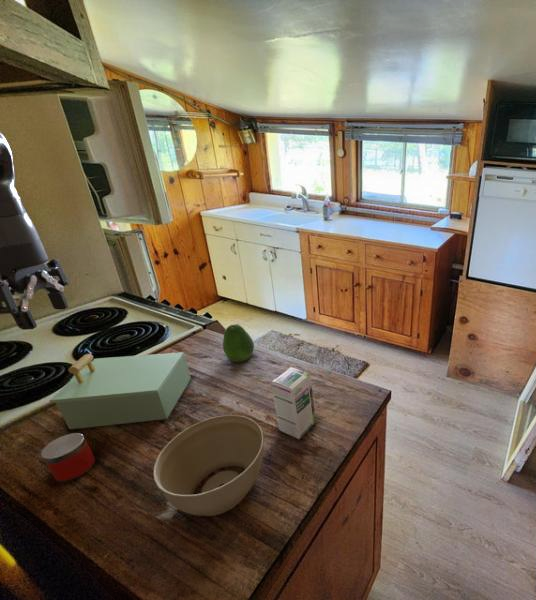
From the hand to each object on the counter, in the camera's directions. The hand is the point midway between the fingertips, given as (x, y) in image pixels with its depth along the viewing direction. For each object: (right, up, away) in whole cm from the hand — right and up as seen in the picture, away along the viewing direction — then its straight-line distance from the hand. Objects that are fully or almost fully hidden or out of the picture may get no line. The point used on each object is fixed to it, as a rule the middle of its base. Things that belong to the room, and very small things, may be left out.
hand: (46, 318), depth 66 cm
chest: (+9, -21, +12) cm, 26 cm away
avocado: (+25, -14, +30) cm, 41 cm away
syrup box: (+49, -26, +7) cm, 56 cm away
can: (+10, -29, -4) cm, 31 cm away
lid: (+9, -14, +9) cm, 18 cm away
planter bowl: (+40, -32, -6) cm, 51 cm away
